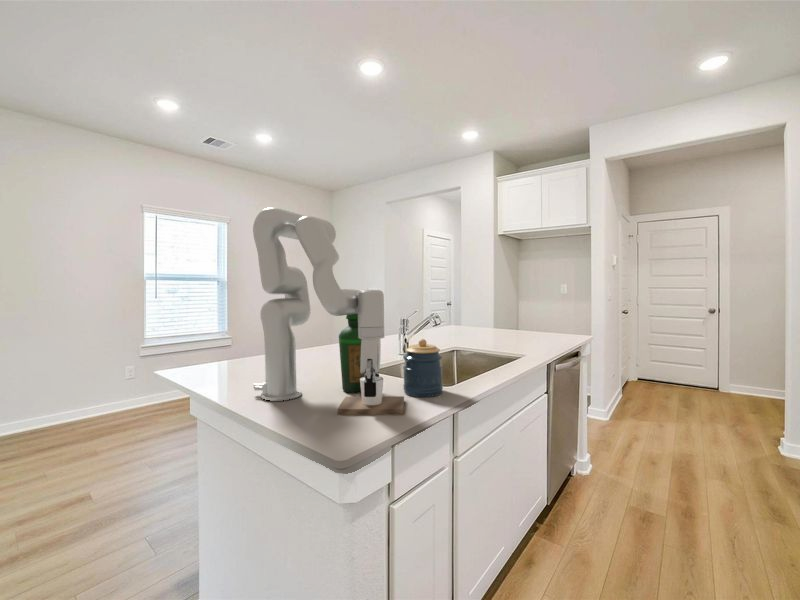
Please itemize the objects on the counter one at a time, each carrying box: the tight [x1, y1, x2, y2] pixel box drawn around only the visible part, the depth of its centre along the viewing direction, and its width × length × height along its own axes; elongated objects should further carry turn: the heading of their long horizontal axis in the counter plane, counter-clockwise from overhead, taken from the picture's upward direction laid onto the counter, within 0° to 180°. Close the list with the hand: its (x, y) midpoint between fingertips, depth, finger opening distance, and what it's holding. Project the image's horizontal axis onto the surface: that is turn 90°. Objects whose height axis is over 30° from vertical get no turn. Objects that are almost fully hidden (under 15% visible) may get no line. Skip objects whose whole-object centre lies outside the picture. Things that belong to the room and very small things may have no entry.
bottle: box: [338, 314, 365, 394], centre depth 126 cm, size 11×11×28 cm
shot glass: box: [360, 375, 384, 405], centre depth 107 cm, size 7×7×7 cm
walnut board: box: [336, 395, 405, 416], centre depth 107 cm, size 18×12×2 cm, turn 88°
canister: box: [402, 338, 444, 398], centre depth 122 cm, size 13×13×18 cm
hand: (372, 391), depth 107 cm, fingers open, 9 cm apart
